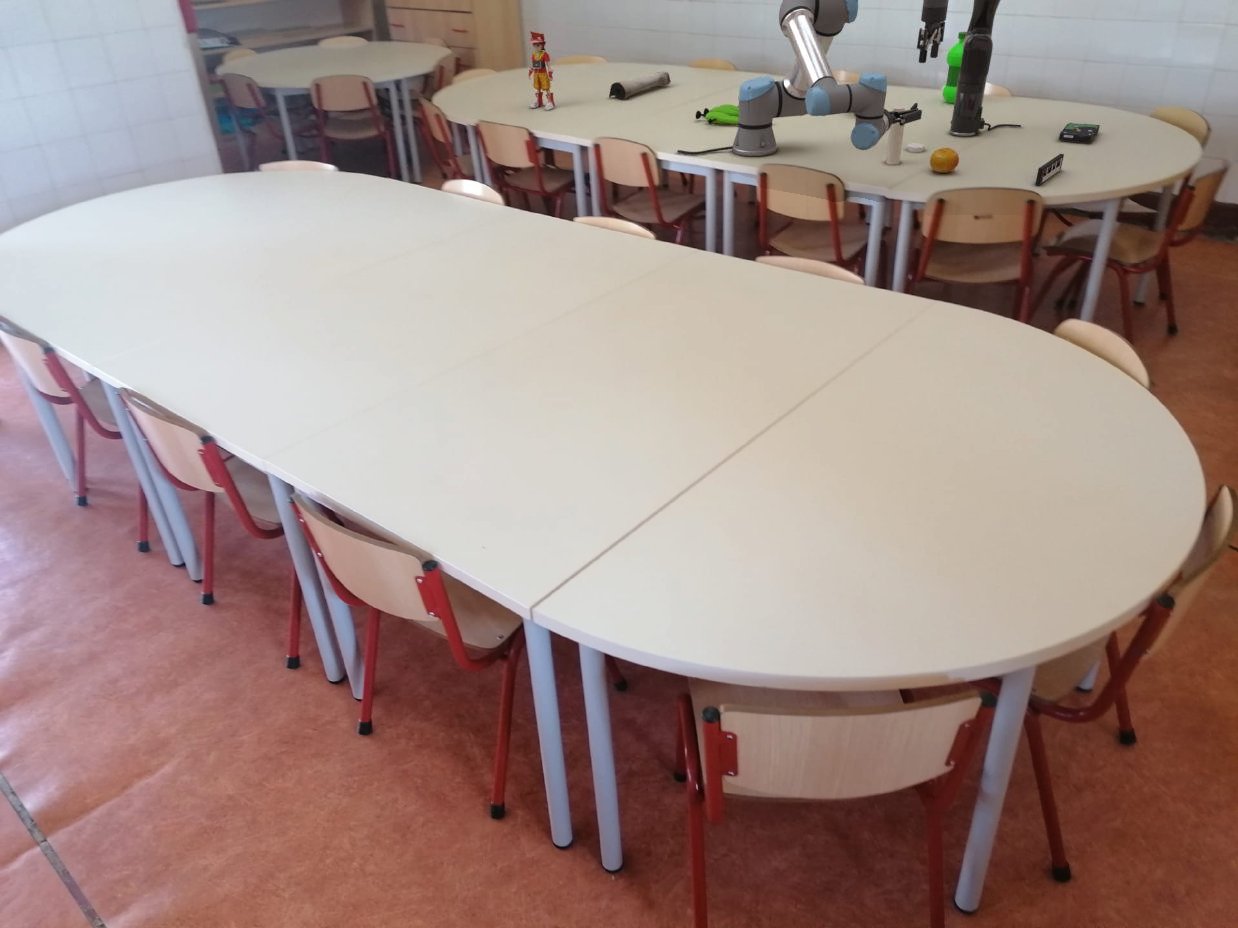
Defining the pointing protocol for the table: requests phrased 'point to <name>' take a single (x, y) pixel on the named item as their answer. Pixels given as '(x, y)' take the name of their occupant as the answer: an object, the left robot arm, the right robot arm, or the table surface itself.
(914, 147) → the lid
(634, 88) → the rolled mat
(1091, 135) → the disk drive
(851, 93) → the left robot arm
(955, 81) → the plastic bottle
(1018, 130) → the table surface
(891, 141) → the beige plastic cylinder
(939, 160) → the fruit
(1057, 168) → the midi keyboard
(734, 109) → the toy
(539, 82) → the toy
